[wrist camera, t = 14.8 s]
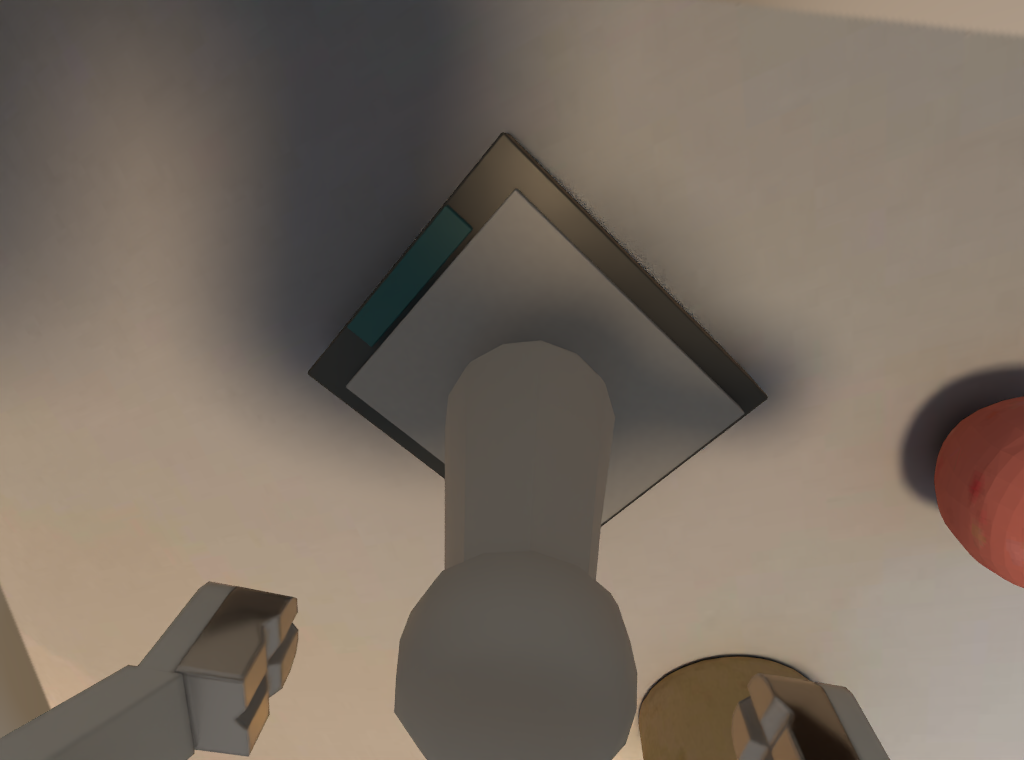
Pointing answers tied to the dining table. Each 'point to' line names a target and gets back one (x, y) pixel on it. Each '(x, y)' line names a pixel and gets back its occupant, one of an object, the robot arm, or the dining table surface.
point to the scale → (534, 326)
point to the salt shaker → (521, 574)
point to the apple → (986, 487)
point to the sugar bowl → (699, 708)
